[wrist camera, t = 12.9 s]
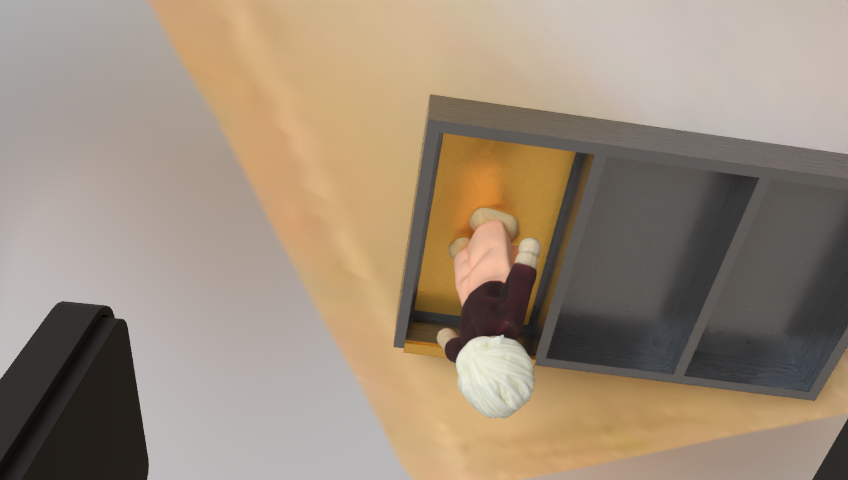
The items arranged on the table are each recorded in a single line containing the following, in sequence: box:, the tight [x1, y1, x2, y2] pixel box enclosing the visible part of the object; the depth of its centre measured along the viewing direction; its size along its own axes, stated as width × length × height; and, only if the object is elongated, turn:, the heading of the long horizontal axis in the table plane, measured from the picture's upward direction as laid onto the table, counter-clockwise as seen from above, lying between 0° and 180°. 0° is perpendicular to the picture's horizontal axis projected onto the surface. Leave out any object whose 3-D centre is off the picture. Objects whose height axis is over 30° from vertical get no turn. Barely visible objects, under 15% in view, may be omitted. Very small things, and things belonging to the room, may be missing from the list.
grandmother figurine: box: [437, 208, 541, 418], centre depth 35 cm, size 8×4×13 cm, turn 159°
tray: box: [394, 95, 848, 401], centre depth 40 cm, size 25×14×3 cm, turn 82°
